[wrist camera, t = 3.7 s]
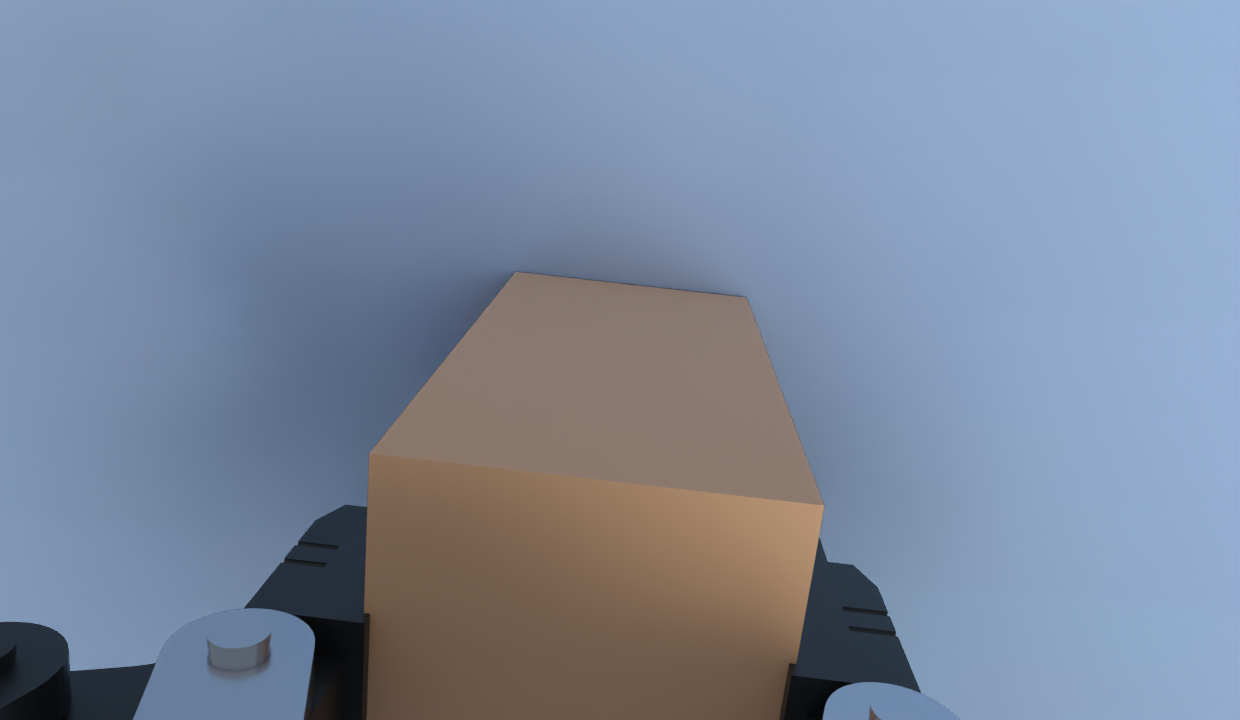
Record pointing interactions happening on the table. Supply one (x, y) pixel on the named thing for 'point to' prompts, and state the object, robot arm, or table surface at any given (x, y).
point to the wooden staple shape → (591, 516)
